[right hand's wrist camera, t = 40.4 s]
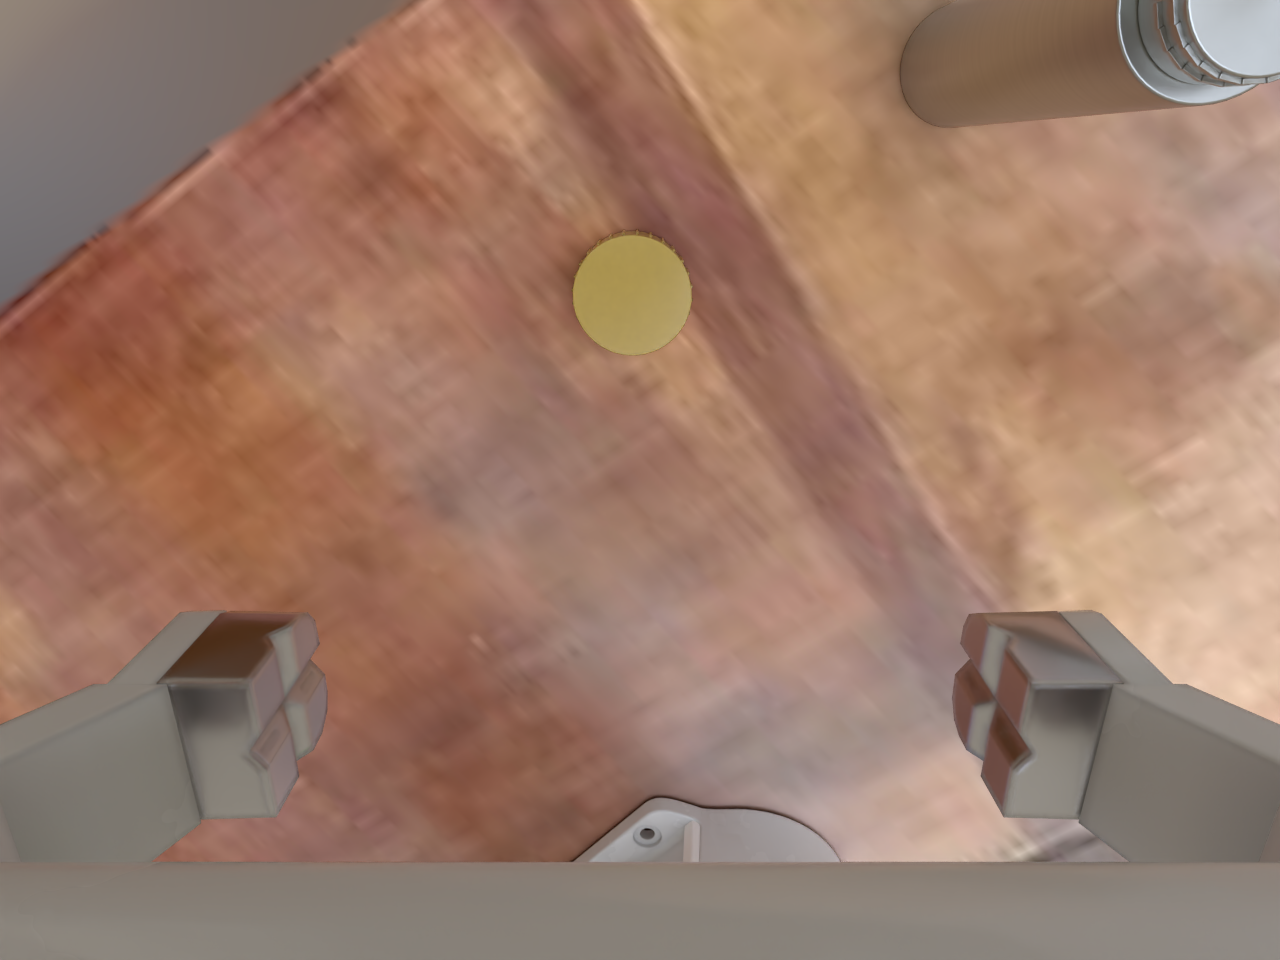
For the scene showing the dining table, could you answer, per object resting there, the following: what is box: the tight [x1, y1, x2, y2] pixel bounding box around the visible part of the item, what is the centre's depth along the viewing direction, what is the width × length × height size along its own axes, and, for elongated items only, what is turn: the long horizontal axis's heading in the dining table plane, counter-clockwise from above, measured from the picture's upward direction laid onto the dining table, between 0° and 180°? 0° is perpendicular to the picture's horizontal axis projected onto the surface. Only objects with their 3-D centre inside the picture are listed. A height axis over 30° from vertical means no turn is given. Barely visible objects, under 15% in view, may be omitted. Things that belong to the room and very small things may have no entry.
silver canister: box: [900, 0, 1280, 128], centre depth 26 cm, size 5×5×19 cm
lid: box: [572, 229, 693, 355], centre depth 38 cm, size 5×5×2 cm
